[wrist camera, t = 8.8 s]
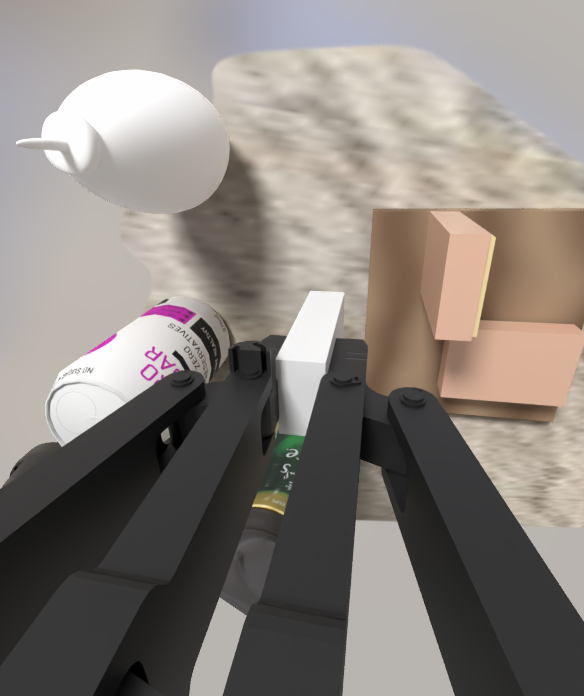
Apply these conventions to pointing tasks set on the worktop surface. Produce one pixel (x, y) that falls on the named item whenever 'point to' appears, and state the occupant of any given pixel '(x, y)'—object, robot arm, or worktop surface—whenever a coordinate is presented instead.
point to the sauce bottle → (138, 141)
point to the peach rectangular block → (512, 363)
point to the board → (499, 302)
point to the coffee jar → (262, 525)
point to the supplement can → (136, 364)
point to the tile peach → (455, 274)
